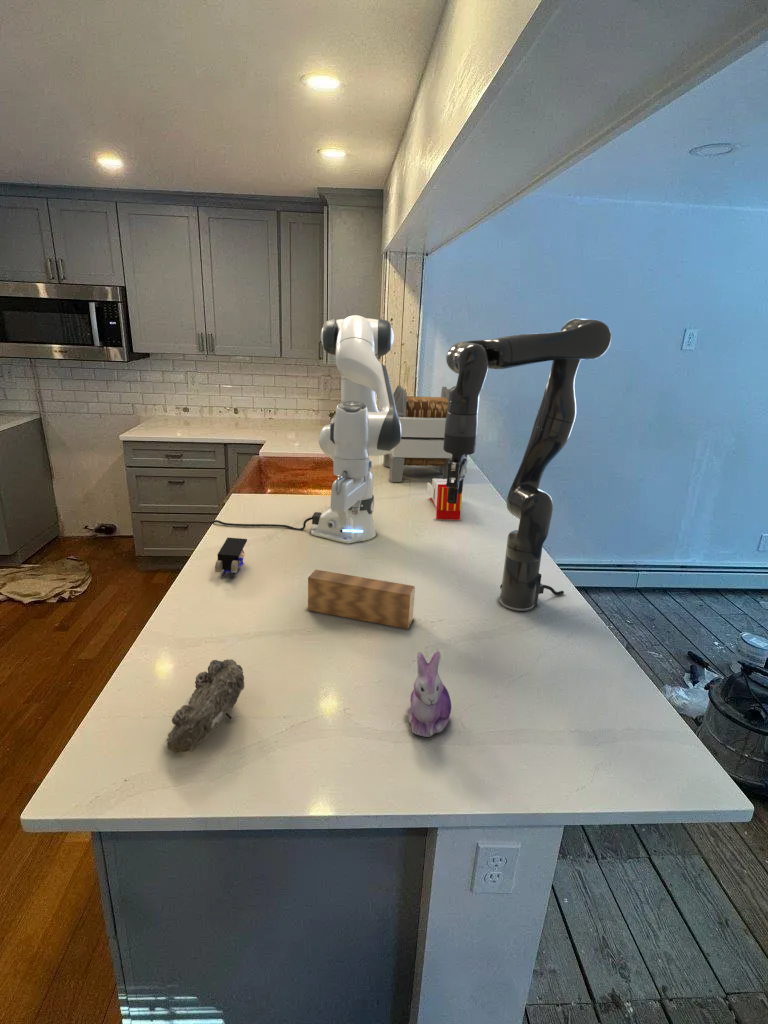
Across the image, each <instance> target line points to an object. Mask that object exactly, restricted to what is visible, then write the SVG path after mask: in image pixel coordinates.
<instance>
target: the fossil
mask: <svg viewBox="0 0 768 1024" xmlns="http://www.w3.org/2000/svg"><path fill="white" fill-rule="evenodd" d="M243 670H244V669H243V667H242V665H240V664H237V662H236V661H235V660H234V659H232V658H231V659H227V658H226V659H224V660H223V661H222V660H217V659H212V660H211V661H210V663H209V665H208V666H207V671H201V672H199V673H198V674H197V675H196V676H195V680H194V684H195V685H194V687H195V689H194V690H193V693H192V694H191V697H190V698H189V700H188V704H184V705H182V706H181V707H180V709H177V710H176V711H175V713H174V715H173V716H172V718H171V723H172V724H173V727H172V730H171V731H170V732H168V734H167V738H166V741H167V742H166V745H167V749H168V750H169V751H173V752H174V753H176V754H178V753H182V752H188V751H189V752H192V751H193V750H195V748H196V747H197V746H199V744H200V743H201V742H203V741H204V740H205V739H206V738H207V737H208V736H209V735H210V734H211V733H212V732H214V730H215V729H217V727H218V726H219V724H220V722H221V721H222V720H223V719H224V718H225V716H226V717H227V719H229V720H233V717H232V715H230V714H229V710H230V709H231V708H234V706H235V704H236V703H237V702H238V699H239V697H240V695H241V693H242V691H243V690H245V689H244V688H245V675H244V671H243Z"/></svg>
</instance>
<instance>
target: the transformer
mask: <svg viewBox="0 0 768 1024" xmlns="http://www.w3.org/2000/svg"><path fill="white" fill-rule="evenodd" d="M450 389H451V388H447V386H442V387H441V392H440V393H441V394H440V396H415V395H414V396H413V395H412V396H411V395H407V394H408V393H407V390H406V389H404V388H403V387H402V385H399V384H398V385H397V386H396V388H395V390H394V392H393V397H394V402H395V406H396V411H397V414H398V417H399V420H400V423H401V428H402V435H401V440H400V443H399V444H398V445H397V446H396V447H395V448H394V450H393V451H392V452H391V453H390V454H386V455H383V466H384V467H388V468H389V475H388V476H389V477H388V478H389V480H390V482H391V483H402V482H403V475H404V469H405V466H406V467H407V466H411V467H412V466H413V467H415V466H416V467H417V466H418V467H436V468H437V470H438V469H439V473H440V474H441V475H443V479H447V474H448V463H449V460H451V457H452V454H451V453H447V452H445V451H444V449H443V445H444V433H445V421H446V416H447V412H448V411H447V409H448V397H449V392H450Z"/></svg>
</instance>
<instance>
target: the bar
mask: <svg viewBox="0 0 768 1024" xmlns="http://www.w3.org/2000/svg"><path fill="white" fill-rule="evenodd" d="M415 594H416V585H411V584H404V583H398V582H392V581H387V580H382V579H381V580H380V579H374V578H370V577H363V576H358V575H357V576H356V575H352V574H346V573H341V572H334V571H327V570H322V569H314V570H313V571H312V572H311V573H310V575H308V577H307V610H308V611H311V612H316V613H322V614H327V615H332V616H337V617H342V618H343V617H344V618H348V619H352V620H358V621H365V622H369V623H374V624H379V625H384V626H385V625H386V626H389V627H396V628H401V629H407V630H409V628H410V626H411V624H412V623H413V619H414V611H415V610H414V609H415Z"/></svg>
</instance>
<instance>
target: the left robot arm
mask: <svg viewBox="0 0 768 1024" xmlns="http://www.w3.org/2000/svg"><path fill="white" fill-rule="evenodd" d="M394 338H395V335H394V330H393V328H392V324H391V323H390V321H389V320H386V319H381V318H378V319H375V318H369V317H364V316H362V315H358V314H354V315H349V316H347V317H346V318H341V319H337V318H332V319H328V320H326V321H325V322H324V323H323V324H322V328H321V331H320V342H321V345H322V347H323V350H324V351H325V352H326V353H327V354H328V355H333V356H335V365H336V369H337V370H338V372H339V374H340V376H341V377H340V379H341V380H340V390H341V391H340V400H341V402H340V403H338V404H337V406H336V409H335V415H334V416H333V417H332V418H331V419H329V424H326V425H323V427H322V429H321V430H320V432H319V435H318V445H319V447H320V449H321V451H322V452H323V453H324V454H325V455H326V456H328V457H329V458H330V459H331V460H332V463H333V464H332V465H333V470H332V471H333V473H332V474H333V475H334V476H336V479H335V480H334V481H333V483H332V485H331V491H330V493H331V494H330V506H329V507H328V508H326V509H325V510H323V512H319V511H318V512H317V511H315V512H313V514H312V516H310V517H308V518H306V519H305V520H304V521H303V523H302V527H301V528H297V527H294V526H291V525H287V524H277V523H275V524H274V523H233V522H232V523H231V522H224V521H222V520H218V519H214V520H212V521H211V522H210V525H213V524H216V523H218V524H220V525H223V526H232V527H274V528H275V527H276V528H287V529H291V530H294V531H295V530H296V531H303V530H305V529H306V524H307V523H308V522H309V521H311V525H313V526H312V528H311V530H310V533H311V536H315V537H319V538H323V539H326V540H330V541H336V542H339V543H343V544H352V543H357V542H365V541H368V540H372V539H373V538H375V537H376V535H377V532H376V528H375V523H374V513H373V512H374V509H375V496H374V474H373V472H372V471H371V469H372V467H373V462H372V460H370V459H369V458H370V457H380V456H384V455H386V454H390V453H391V452H392V451H393V450H394V448H395V447H396V446H397V445H398V444H399V443H400V440H401V435H402V428H401V423H400V420H399V417H398V414H397V411H396V406H395V402H394V397H393V394H394V392H393V388H392V383H391V380H390V376H389V372H388V369H387V366H386V365H385V364H383V363H382V362H381V361H379V360H381V357H383V356H386V355H387V354H388V353H389V352H390V351H391V348H392V347H393V344H394V341H395V340H394ZM377 356H378V357H377ZM377 401H378V403H377ZM377 404H378V405H377ZM378 406H379V408H378Z"/></svg>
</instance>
